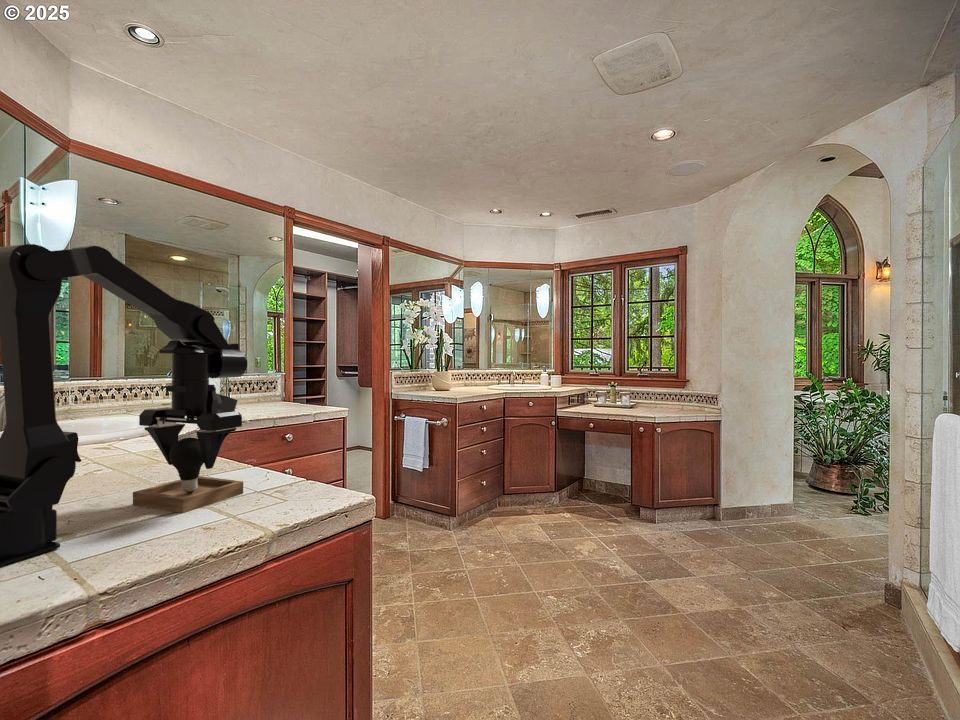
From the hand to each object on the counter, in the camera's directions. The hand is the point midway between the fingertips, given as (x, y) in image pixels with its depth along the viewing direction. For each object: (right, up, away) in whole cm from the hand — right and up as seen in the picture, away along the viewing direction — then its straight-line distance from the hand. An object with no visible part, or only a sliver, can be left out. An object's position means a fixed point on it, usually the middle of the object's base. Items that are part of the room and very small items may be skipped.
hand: (190, 466), depth 84 cm
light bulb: (0, -5, 0) cm, 5 cm away
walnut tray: (0, -6, 0) cm, 6 cm away
